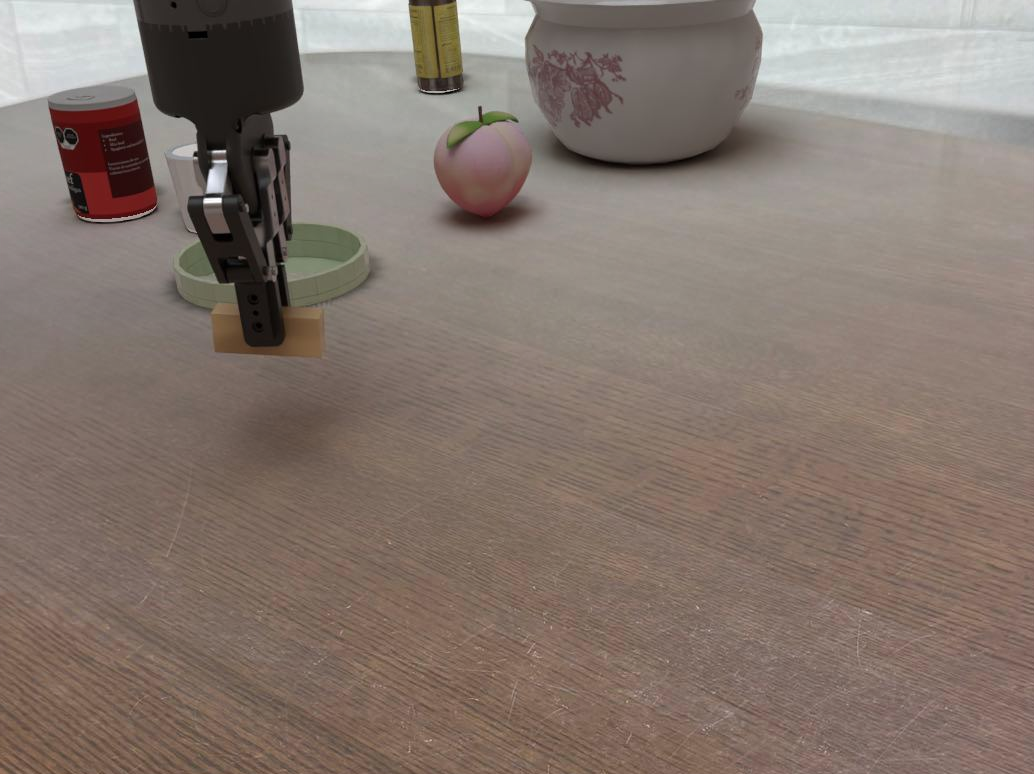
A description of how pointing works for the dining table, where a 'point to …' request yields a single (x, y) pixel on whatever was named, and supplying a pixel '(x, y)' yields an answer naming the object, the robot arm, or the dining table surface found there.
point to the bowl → (286, 267)
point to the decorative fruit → (483, 162)
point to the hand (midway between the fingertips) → (270, 335)
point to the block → (299, 327)
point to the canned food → (103, 151)
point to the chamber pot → (642, 74)
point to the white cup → (183, 176)
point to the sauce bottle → (436, 44)
